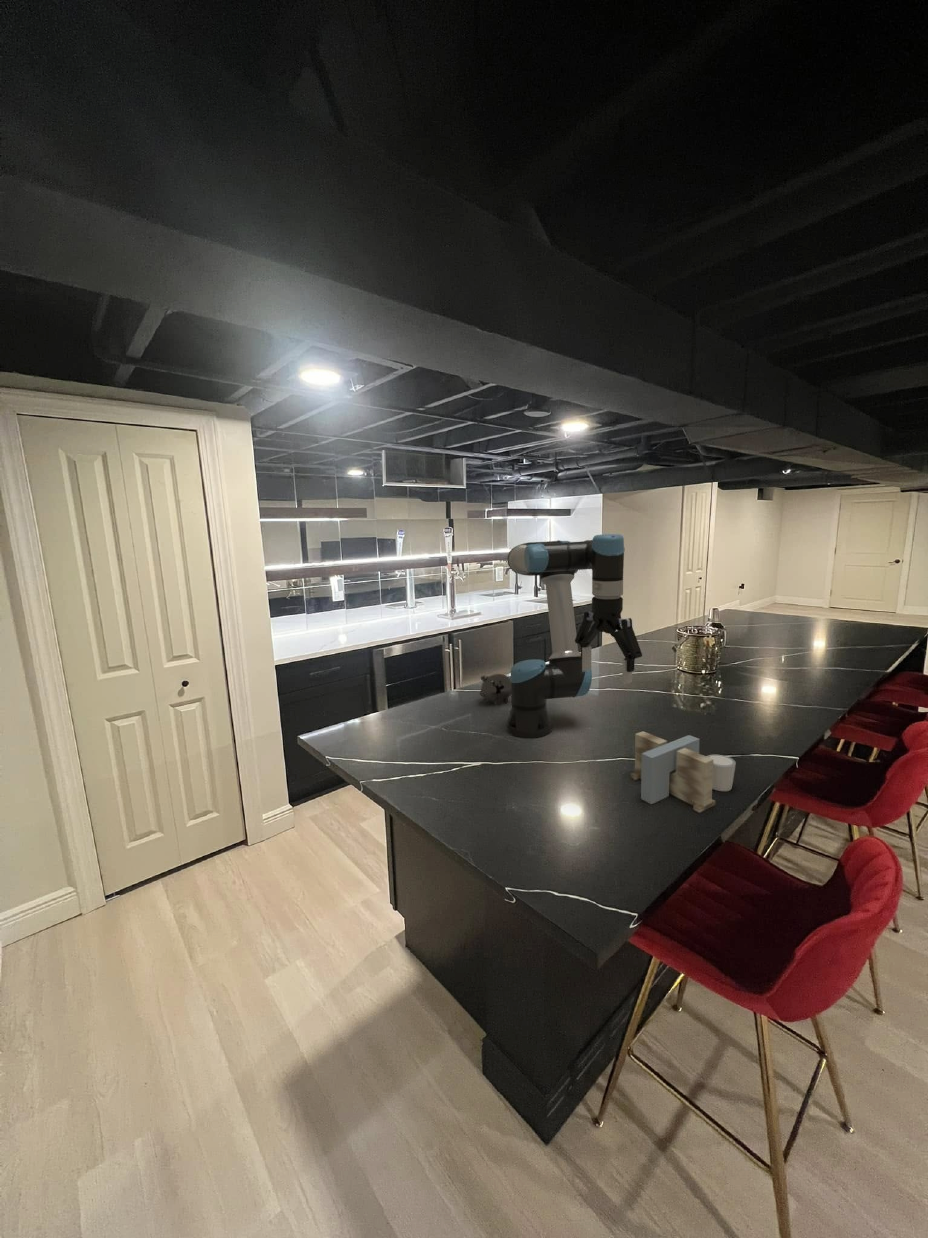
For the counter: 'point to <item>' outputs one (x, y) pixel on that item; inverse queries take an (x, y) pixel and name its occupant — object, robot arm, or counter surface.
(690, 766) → the slotted stand
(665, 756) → the slotted plate
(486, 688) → the grey teddy bear
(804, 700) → the counter surface
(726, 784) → the white cylinder
